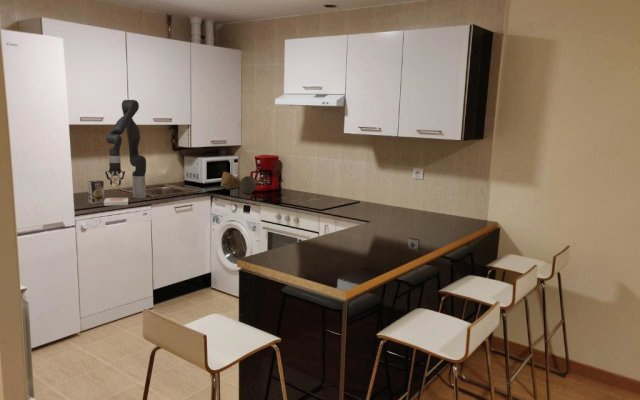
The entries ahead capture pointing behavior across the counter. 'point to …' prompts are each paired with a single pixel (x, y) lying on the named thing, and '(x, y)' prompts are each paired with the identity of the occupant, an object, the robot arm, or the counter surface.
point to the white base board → (115, 201)
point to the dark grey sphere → (248, 184)
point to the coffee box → (95, 192)
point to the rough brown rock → (229, 181)
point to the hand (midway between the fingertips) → (115, 185)
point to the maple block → (115, 182)
